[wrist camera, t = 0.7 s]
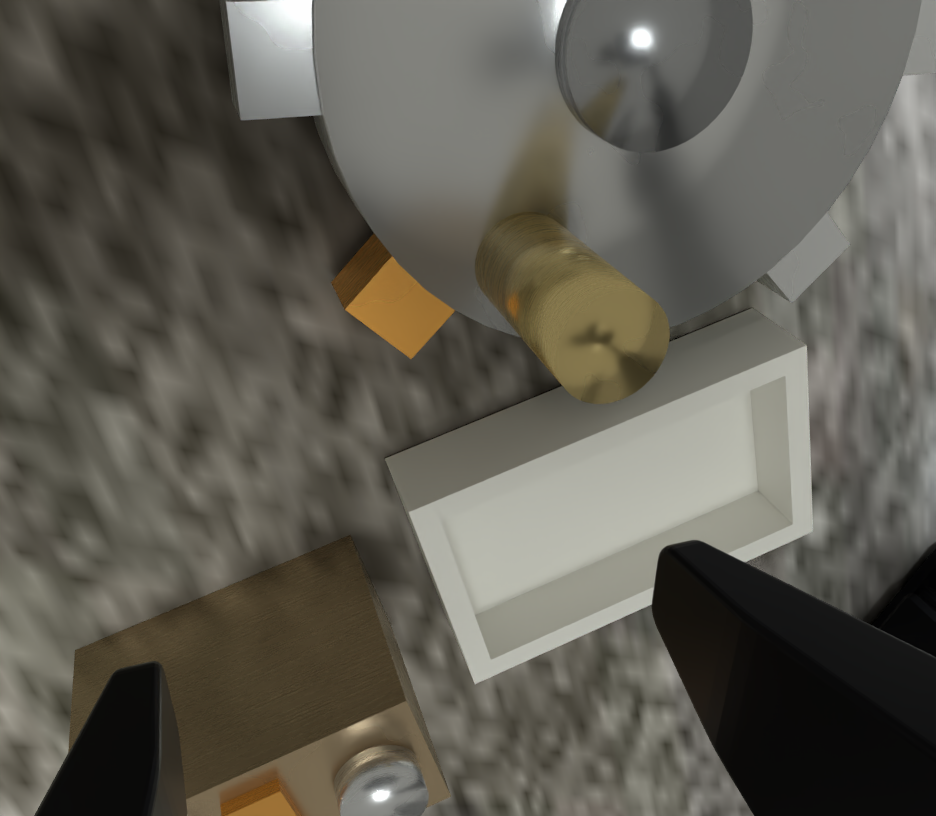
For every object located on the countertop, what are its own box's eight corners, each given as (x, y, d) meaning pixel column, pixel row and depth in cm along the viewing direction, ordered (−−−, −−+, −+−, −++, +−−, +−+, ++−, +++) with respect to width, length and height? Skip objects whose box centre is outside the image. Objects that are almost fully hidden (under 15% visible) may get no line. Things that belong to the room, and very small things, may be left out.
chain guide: (752, 307, 23) (807, 345, 21) (765, 486, 26) (812, 531, 24) (384, 458, 21) (408, 512, 19) (449, 625, 25) (475, 683, 23)
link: (350, 533, 22) (417, 732, 17) (390, 625, 24) (461, 828, 19) (75, 648, 21) (59, 894, 16) (140, 733, 23) (145, 977, 18)
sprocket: (1038, -125, 19) (1343, -126, 14) (664, 433, 23) (800, 574, 19) (480, -772, 12) (718, -1206, 7) (95, 210, 16) (82, 346, 12)
